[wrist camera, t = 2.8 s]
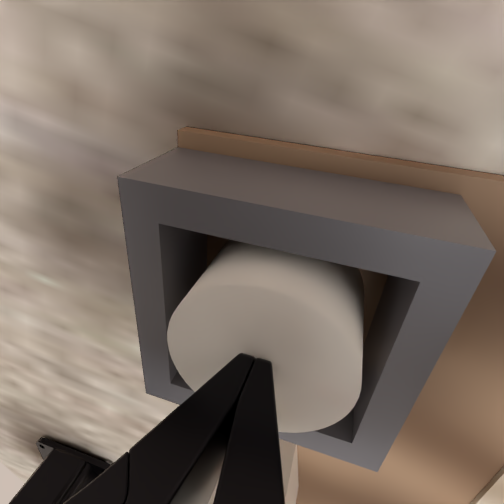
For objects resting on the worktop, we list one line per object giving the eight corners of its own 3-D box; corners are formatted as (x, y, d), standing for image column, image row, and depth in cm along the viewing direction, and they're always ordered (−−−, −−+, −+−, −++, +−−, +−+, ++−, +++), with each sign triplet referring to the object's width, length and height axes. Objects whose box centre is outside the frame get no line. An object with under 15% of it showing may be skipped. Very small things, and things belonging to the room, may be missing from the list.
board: (573, 615, 17) (581, 637, 17) (193, 470, 22) (188, 483, 21) (1229, 287, 6) (1331, 315, 6) (186, 126, 11) (173, 131, 10)
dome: (344, 361, 12) (336, 454, 9) (214, 324, 13) (171, 398, 10) (384, 240, 9) (389, 318, 7) (217, 206, 11) (161, 261, 8)
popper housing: (376, 392, 13) (377, 472, 10) (184, 335, 15) (146, 393, 12) (460, 195, 9) (496, 251, 6) (177, 147, 10) (117, 176, 8)
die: (298, 486, 18) (281, 587, 14) (227, 466, 19) (196, 556, 16) (296, 439, 16) (276, 544, 12) (217, 421, 17) (179, 512, 14)
